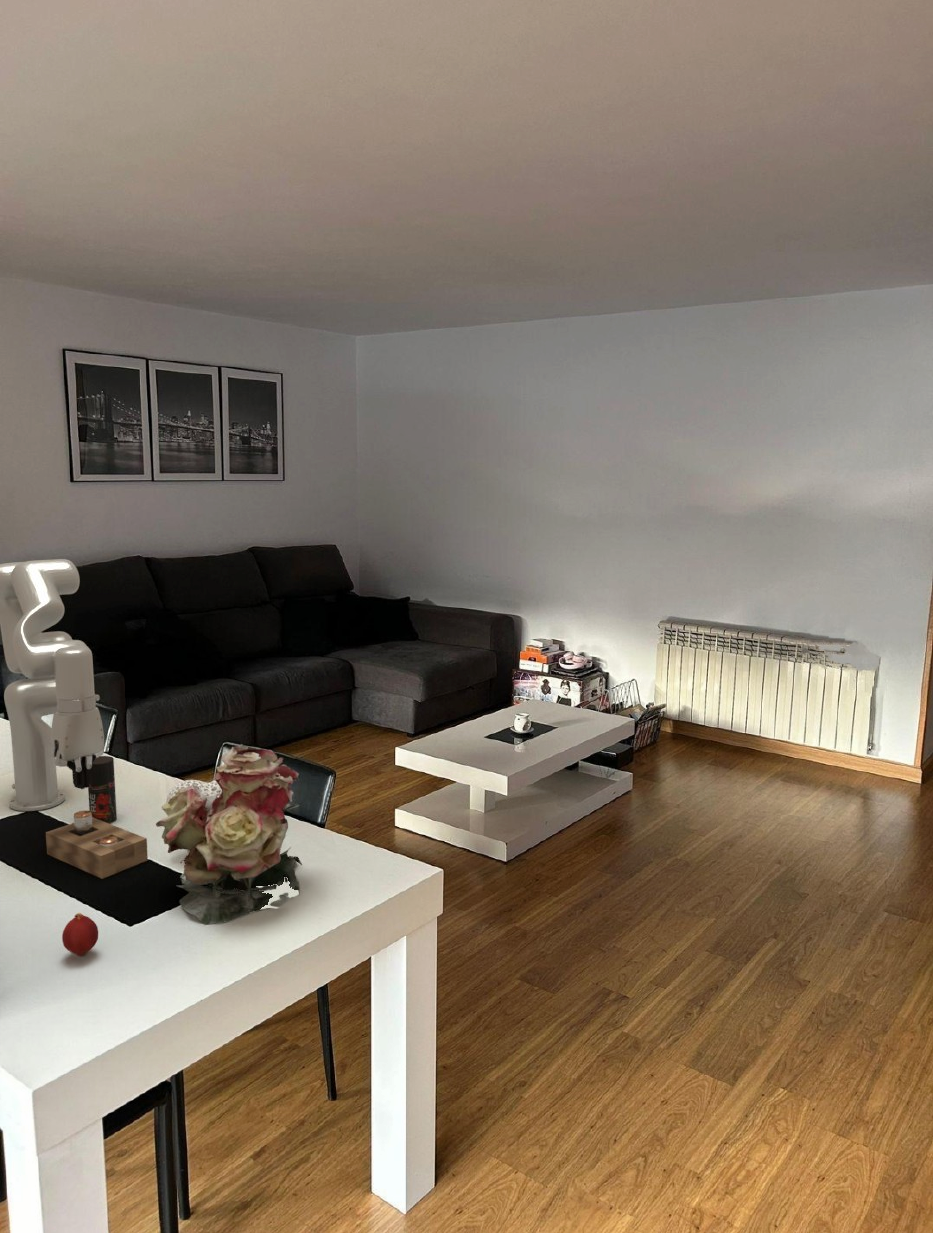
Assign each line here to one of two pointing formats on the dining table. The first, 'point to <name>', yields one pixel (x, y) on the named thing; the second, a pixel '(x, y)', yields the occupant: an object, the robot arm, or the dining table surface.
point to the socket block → (97, 848)
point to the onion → (80, 935)
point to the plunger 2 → (108, 841)
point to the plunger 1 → (83, 822)
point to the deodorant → (102, 789)
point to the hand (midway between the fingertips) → (81, 786)
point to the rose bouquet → (233, 835)
